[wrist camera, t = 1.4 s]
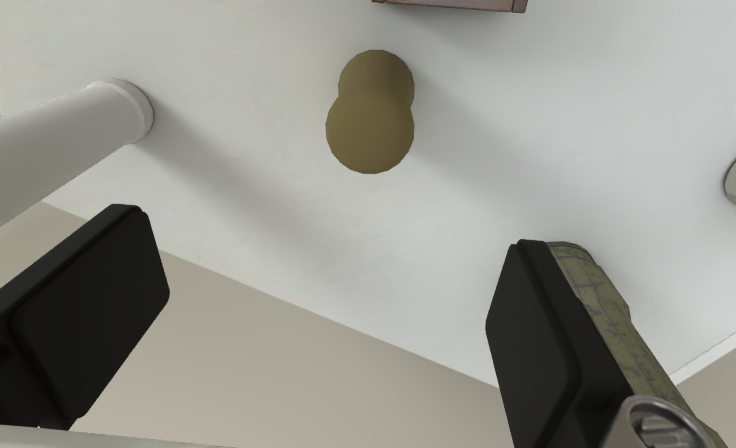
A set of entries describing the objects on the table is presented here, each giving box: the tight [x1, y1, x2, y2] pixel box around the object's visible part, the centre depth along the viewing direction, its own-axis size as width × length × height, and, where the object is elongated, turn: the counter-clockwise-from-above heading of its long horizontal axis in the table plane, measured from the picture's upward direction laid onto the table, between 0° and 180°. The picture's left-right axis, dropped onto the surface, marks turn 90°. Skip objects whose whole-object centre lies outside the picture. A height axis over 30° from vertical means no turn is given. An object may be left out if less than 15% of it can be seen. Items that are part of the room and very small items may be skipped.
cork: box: [326, 50, 414, 174], centre depth 26 cm, size 6×6×11 cm
